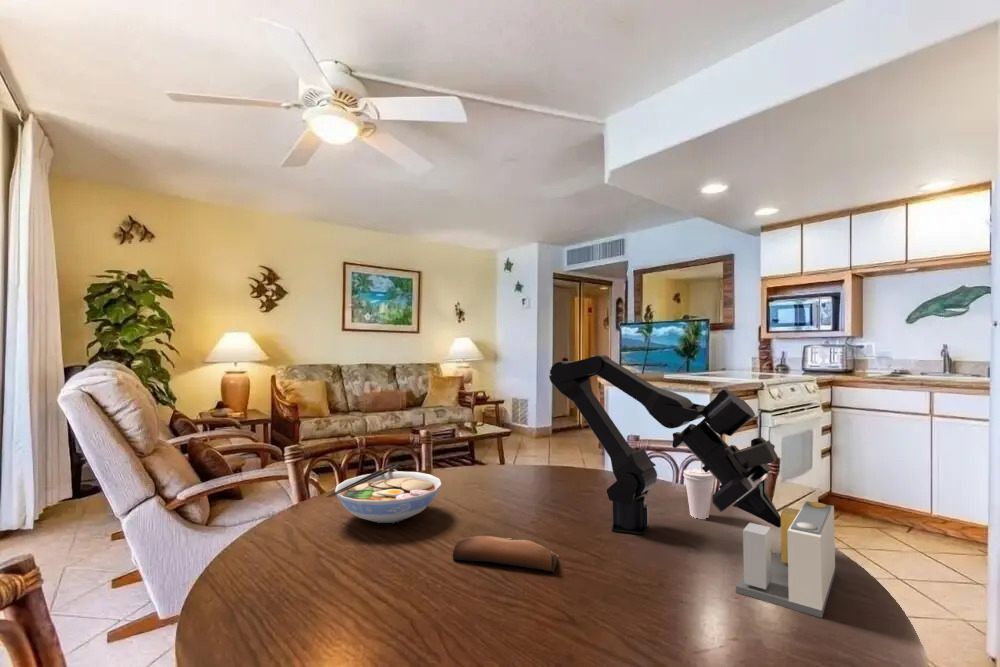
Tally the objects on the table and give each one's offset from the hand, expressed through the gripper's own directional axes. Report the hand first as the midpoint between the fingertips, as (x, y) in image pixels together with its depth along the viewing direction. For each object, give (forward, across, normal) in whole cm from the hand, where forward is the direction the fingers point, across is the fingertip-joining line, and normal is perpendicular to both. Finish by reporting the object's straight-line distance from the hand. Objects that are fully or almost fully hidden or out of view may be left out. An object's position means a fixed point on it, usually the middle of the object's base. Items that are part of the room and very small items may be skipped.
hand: (781, 525), depth 83 cm
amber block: (+5, 0, +3) cm, 6 cm away
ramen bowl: (-45, -28, +55) cm, 76 cm away
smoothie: (-8, +16, +18) cm, 26 cm away
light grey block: (+3, -12, +5) cm, 13 cm away
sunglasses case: (-22, -27, +32) cm, 47 cm away
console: (+6, -6, +3) cm, 9 cm away
